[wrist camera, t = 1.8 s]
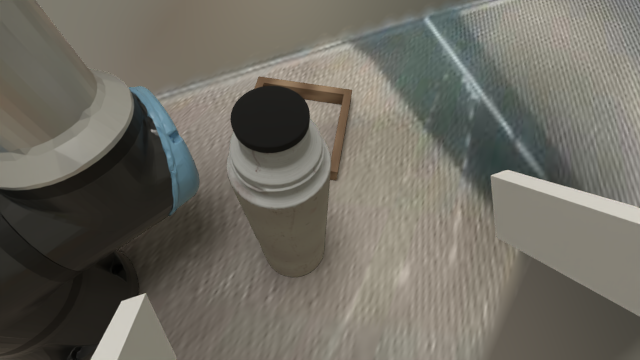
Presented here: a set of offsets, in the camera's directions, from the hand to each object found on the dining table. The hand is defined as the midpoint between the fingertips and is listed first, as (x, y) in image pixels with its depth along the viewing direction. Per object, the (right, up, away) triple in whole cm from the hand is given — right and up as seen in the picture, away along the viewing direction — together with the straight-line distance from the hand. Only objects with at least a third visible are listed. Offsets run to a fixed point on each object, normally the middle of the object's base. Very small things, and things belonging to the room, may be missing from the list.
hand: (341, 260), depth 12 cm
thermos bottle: (-4, -6, +33) cm, 34 cm away
